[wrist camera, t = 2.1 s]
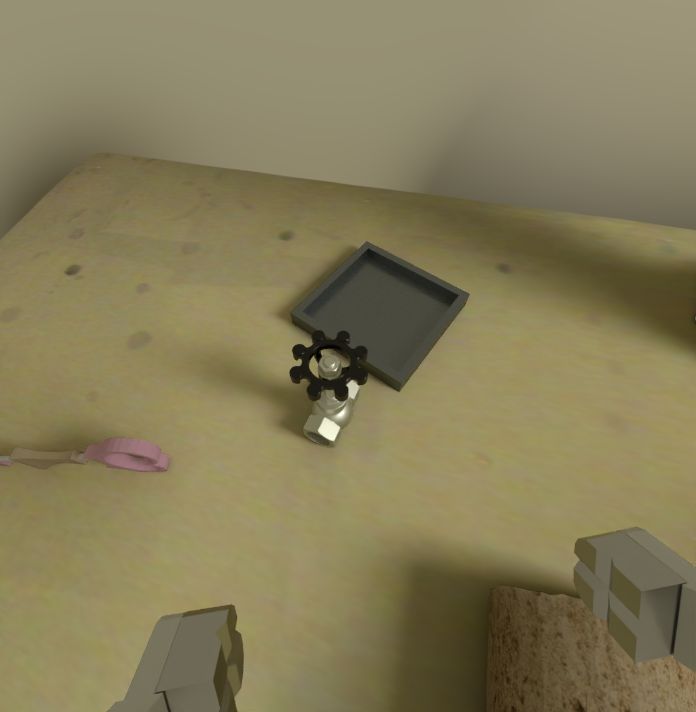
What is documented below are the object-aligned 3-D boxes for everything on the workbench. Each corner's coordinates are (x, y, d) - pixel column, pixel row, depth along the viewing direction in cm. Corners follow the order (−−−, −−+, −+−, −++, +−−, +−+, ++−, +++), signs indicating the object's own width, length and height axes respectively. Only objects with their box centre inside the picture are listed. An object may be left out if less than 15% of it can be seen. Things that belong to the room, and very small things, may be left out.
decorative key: (12, 464, 40) (183, 459, 37) (6, 475, 39) (180, 471, 36) (-55, 443, 34) (141, 436, 31) (-63, 457, 33) (136, 450, 30)
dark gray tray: (365, 252, 53) (366, 241, 51) (465, 304, 48) (469, 294, 46) (292, 322, 46) (290, 312, 45) (399, 391, 41) (401, 383, 40)
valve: (291, 433, 39) (272, 379, 28) (318, 382, 42) (311, 317, 32) (348, 458, 37) (350, 411, 27) (372, 404, 41) (382, 343, 30)
